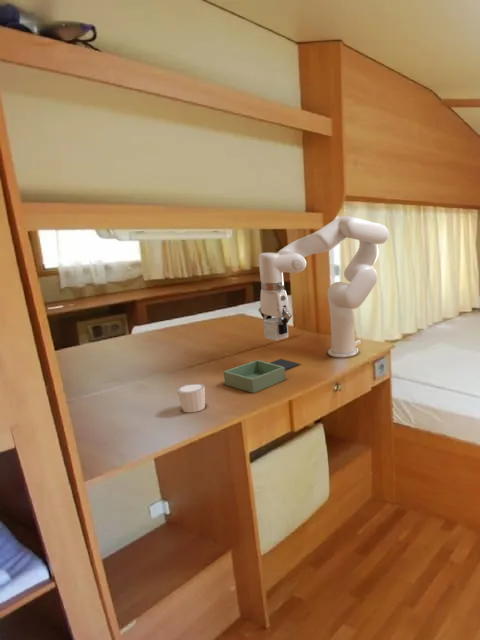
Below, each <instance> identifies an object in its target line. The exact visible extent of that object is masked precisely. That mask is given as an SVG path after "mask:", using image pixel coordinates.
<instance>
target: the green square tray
mask: <svg viewBox="0 0 480 640" xmlns="http://www.w3.org/2000/svg"><path fill="white" fill-rule="evenodd" d="M286 380H287V378H286V370H285V367H283V366H279V365H275V364H271V362H267V361H263V360H261V359H255V360H253V361H250V362H248V363H244V364H242V365H238V366H236V367H233V368H230V369H227V370H224V371H223V381H224V385H226V386H229V387H232V388H235V389H238V390H243V391H245V392H249V393H252V394H255V393H257V392H259V391H262V390H265V389H267V388H269V387H271V386H273V385H276V384H279V383H281V382H284V381H286Z"/></svg>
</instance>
